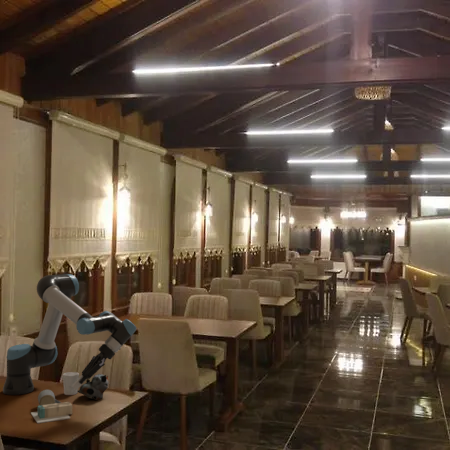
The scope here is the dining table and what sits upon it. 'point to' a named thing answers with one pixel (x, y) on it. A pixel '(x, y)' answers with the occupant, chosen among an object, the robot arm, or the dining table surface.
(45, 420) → the grey mat
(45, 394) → the ceramic mug
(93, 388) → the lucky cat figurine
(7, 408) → the dining table surface
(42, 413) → the beige long block
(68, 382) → the white cup
